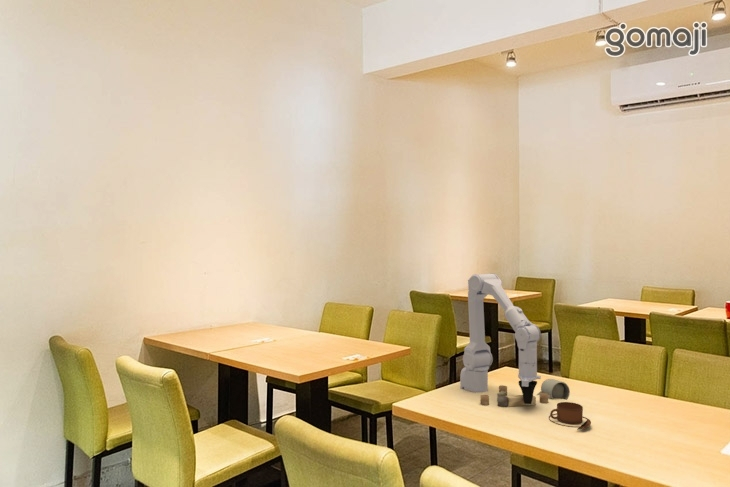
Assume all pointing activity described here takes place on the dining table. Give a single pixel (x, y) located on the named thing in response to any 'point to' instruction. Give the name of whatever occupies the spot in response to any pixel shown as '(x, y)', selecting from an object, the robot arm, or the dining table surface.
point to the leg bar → (513, 401)
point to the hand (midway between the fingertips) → (527, 403)
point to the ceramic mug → (555, 389)
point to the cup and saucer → (570, 414)
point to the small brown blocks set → (503, 392)
